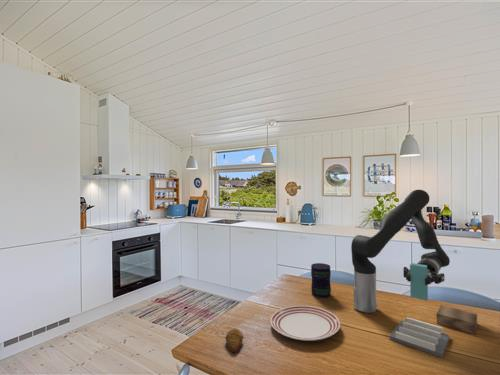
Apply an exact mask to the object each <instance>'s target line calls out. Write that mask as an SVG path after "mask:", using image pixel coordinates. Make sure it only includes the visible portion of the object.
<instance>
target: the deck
mask: <svg viewBox="0 0 500 375" xmlns="http://www.w3.org/2000/svg"><path fill="white" fill-rule="evenodd" d="M436 324H438V325H442V326H445V327H449V328H451V329H455V330H460V331H463V332H466V333H471V334H474V335H475V334H476V331H477V325H478V313H475V312H471V311H466V310H463V309H458V308H455V307H451V306H447V305H442V304H441V305H440V306H439V309H438V310H437V312H436Z"/></svg>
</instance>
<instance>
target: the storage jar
mask: <svg viewBox="0 0 500 375" xmlns="http://www.w3.org/2000/svg"><path fill="white" fill-rule="evenodd" d="M310 267H311V268H310V270H311V271H310V273H311V274H310V276H311V296H313V297H314V298H317V299H328V298H331V295H332V294H331V292H332V287H331V286H332V284H331V276H332V274H331V273H332V272H331V265H329V264H327V263H322V262H320V263H319V262H318V263H312V264H311V265H310Z"/></svg>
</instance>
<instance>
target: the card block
mask: <svg viewBox="0 0 500 375" xmlns="http://www.w3.org/2000/svg"><path fill="white" fill-rule="evenodd" d="M409 269H410V282H409V283H410V284H409V287H410V288H409V289H410V291H409V292H410V298H415V299H418V300H423V301H428V299H429V290H428V287H429V284H428V285H425V278H426V277H427V265H421V264H417V263H414V262H411V263H409Z"/></svg>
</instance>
